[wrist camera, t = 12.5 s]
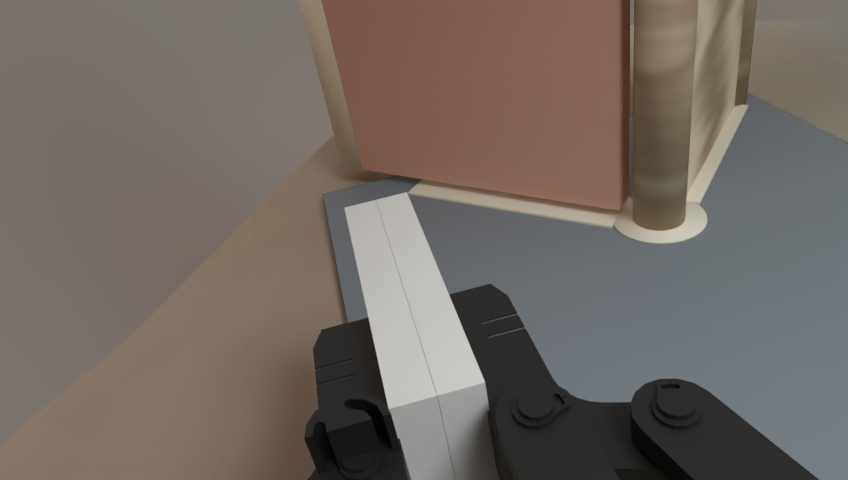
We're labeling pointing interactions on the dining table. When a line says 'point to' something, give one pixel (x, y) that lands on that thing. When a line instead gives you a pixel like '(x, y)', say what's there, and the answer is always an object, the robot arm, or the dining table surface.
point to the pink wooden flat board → (481, 92)
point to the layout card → (670, 279)
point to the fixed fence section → (683, 96)
